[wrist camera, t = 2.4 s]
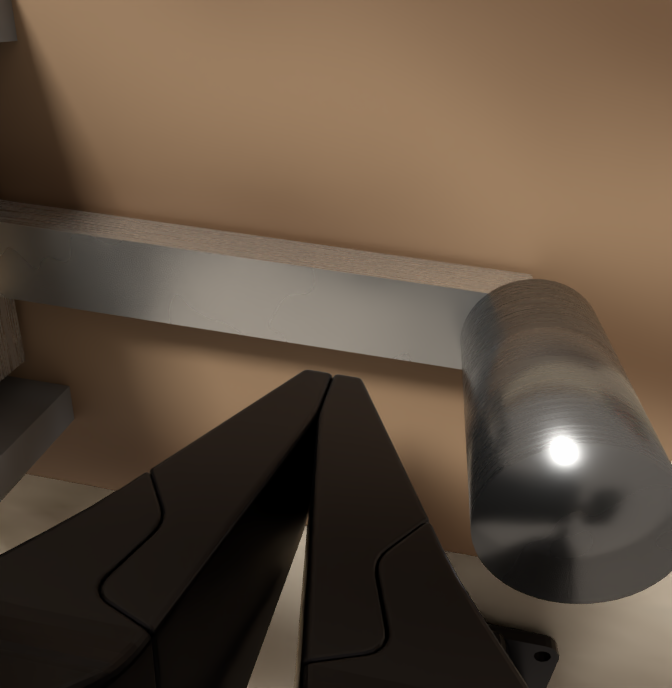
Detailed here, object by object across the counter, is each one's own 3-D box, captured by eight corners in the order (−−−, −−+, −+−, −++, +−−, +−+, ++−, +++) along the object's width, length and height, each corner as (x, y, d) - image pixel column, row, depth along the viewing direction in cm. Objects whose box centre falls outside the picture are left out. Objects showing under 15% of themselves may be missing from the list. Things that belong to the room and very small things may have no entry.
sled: (542, 445, 13) (602, 708, 8) (-211, 320, 15) (-541, 477, 10) (636, 159, 10) (822, 302, 5) (-323, 41, 12) (-880, 64, 7)
